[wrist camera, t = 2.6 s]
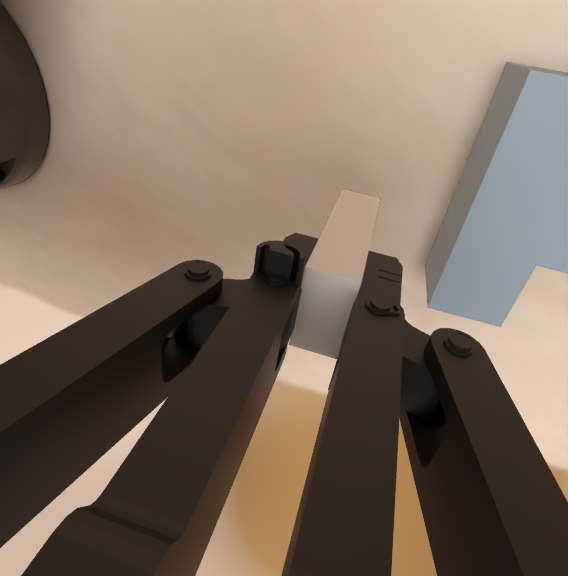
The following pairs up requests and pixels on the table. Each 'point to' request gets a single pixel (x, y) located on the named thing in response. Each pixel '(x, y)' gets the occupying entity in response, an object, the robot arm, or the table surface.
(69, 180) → the table surface
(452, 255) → the tee block
